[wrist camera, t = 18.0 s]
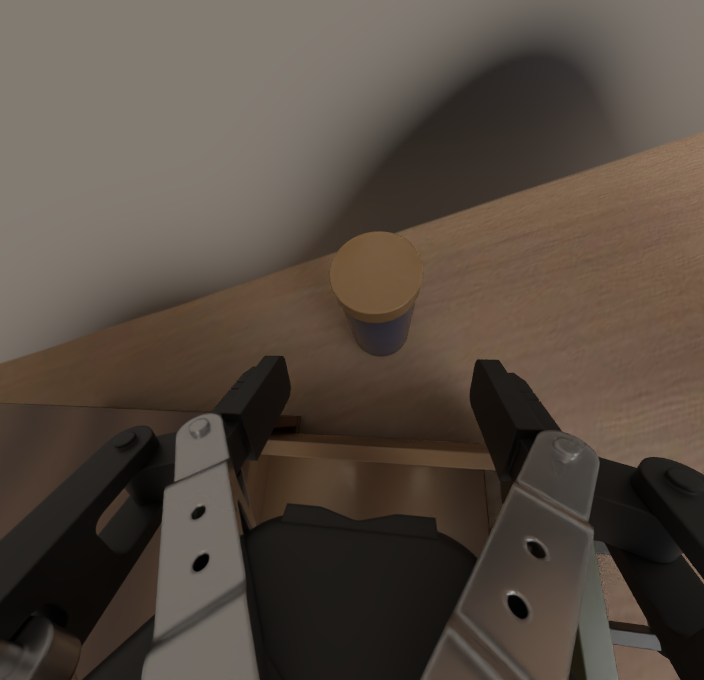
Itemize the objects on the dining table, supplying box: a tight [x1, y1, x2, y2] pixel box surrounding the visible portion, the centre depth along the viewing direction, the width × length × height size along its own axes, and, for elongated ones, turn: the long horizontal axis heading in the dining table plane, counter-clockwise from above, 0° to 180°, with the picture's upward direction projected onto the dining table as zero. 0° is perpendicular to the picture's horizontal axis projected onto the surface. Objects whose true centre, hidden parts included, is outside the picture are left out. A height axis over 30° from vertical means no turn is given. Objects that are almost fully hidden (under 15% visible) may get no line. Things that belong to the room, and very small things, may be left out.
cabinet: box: [0, 403, 300, 680], centre depth 17 cm, size 20×15×9 cm
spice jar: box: [330, 232, 423, 356], centre depth 19 cm, size 5×5×10 cm
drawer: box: [247, 432, 669, 680], centre depth 15 cm, size 23×13×7 cm, turn 88°
